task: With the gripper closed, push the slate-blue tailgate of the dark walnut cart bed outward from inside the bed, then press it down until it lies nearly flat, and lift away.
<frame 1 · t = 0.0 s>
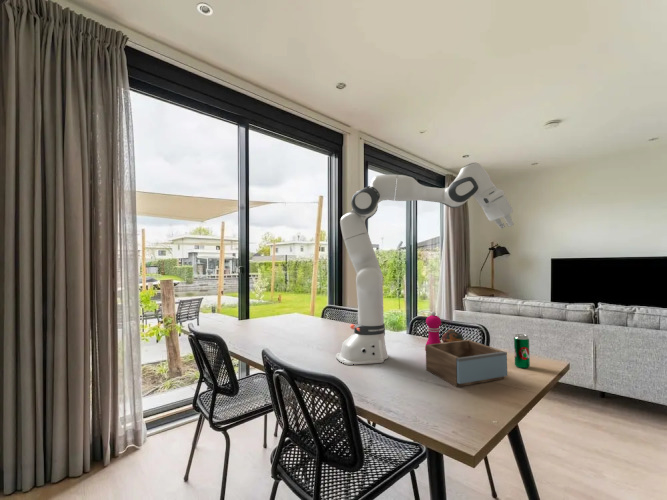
hand: (507, 227, 132), 54 cm above the table, tool tilted 30°, fingers open, 8 cm apart
tailgate: (482, 367, 109), point 6 cm above the table, hinge at 0.0°
cart bed: (463, 374, 118), on the table
soda can: (522, 367, 125), on the table
pepper mill: (434, 360, 134), on the table
decorative turtle: (452, 349, 150), on the table
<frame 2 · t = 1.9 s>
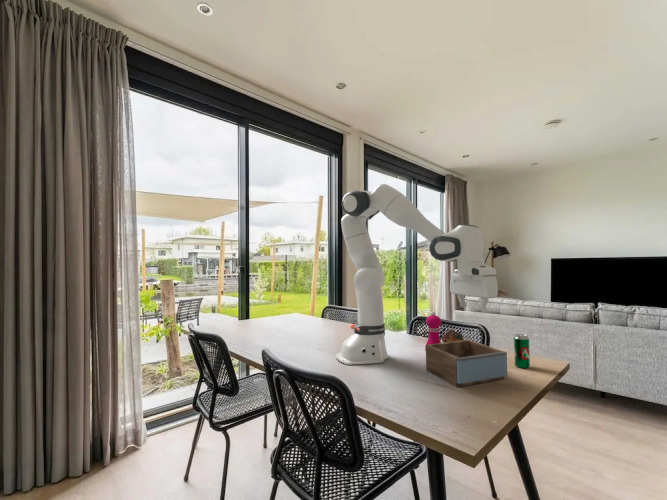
hand: (472, 308, 115), 24 cm above the table, tool pointing down, fingers open, 8 cm apart
nothing on the table moved.
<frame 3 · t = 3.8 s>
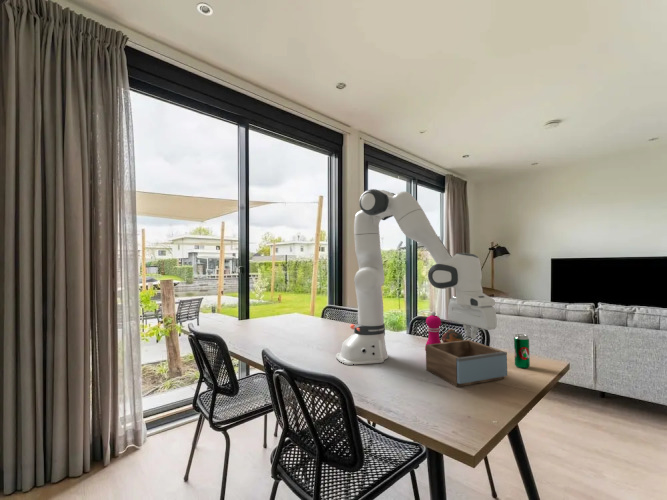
hand: (471, 337, 114), 14 cm above the table, tool pointing down, fingers closed
nothing on the table moved.
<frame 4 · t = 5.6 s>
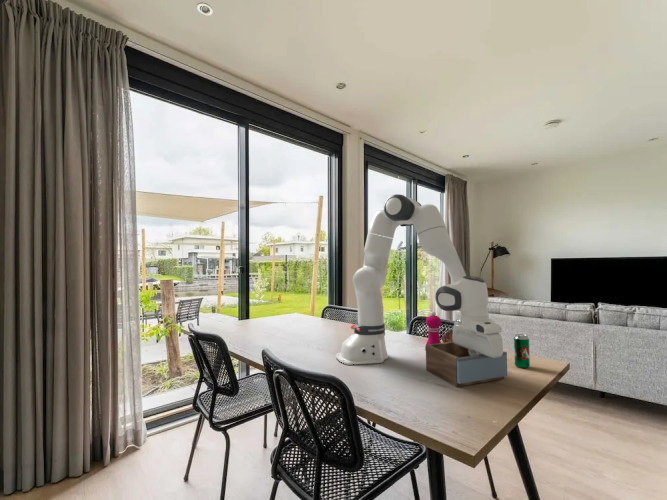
hand: (476, 363, 112), 6 cm above the table, tool pointing down, fingers closed
tailgate: (482, 367, 109), point 5 cm above the table, hinge at 0.0°, touching gripper
everything else where it was.
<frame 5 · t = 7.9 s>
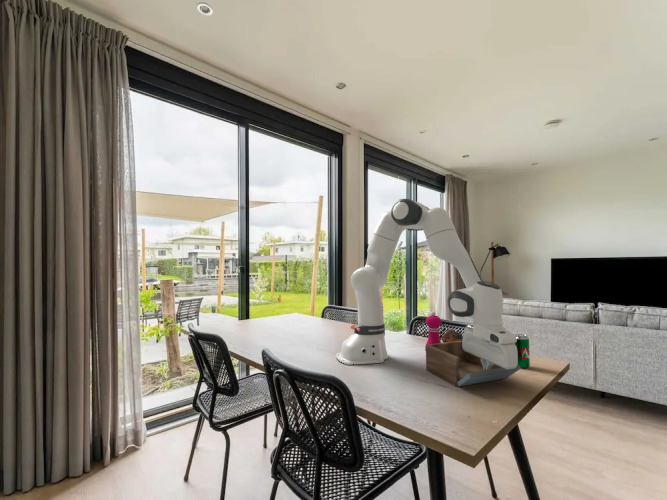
hand: (487, 372, 107), 4 cm above the table, tool pointing down, fingers closed, pressing on tailgate
tailgate: (489, 375, 106), point 4 cm above the table, hinge at 49.4°, touching gripper
everything else where it was.
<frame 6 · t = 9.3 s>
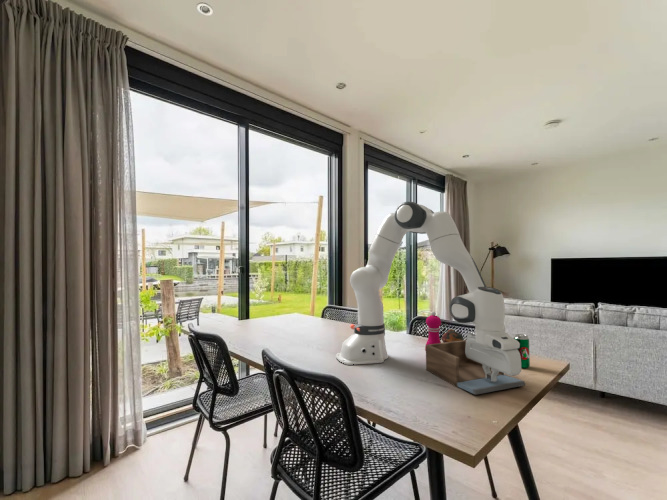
hand: (491, 380, 105), 3 cm above the table, tool pointing down, fingers closed
tailgate: (490, 383, 106), point 1 cm above the table, hinge at 86.6°
everything else where it was.
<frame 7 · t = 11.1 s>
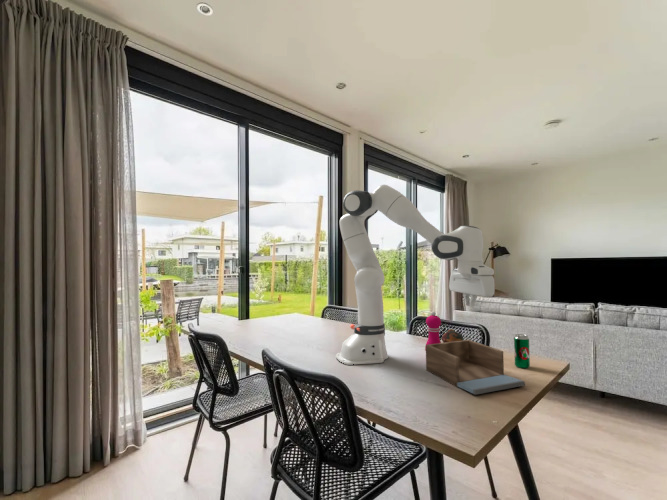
hand: (469, 306, 121), 24 cm above the table, tool pointing down, fingers closed
nothing on the table moved.
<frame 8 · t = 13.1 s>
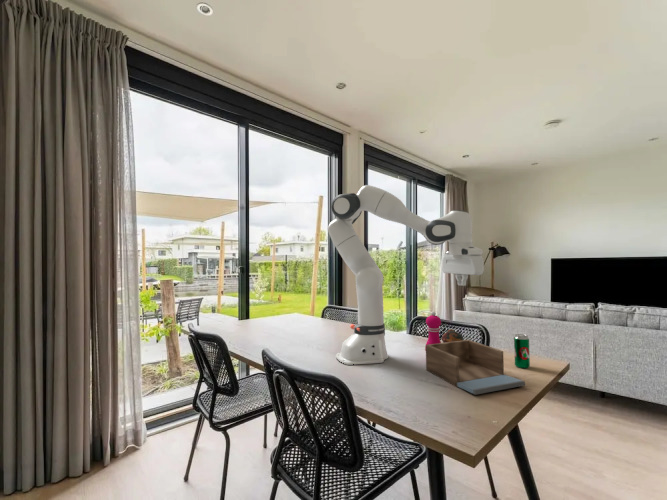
hand: (461, 285, 130), 31 cm above the table, tool pointing down, fingers closed
nothing on the table moved.
at the end: tailgate at +87° (first picture: +0°); pepper mill moved 0.2 cm from its start; soda can moved 0.2 cm from its start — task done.
